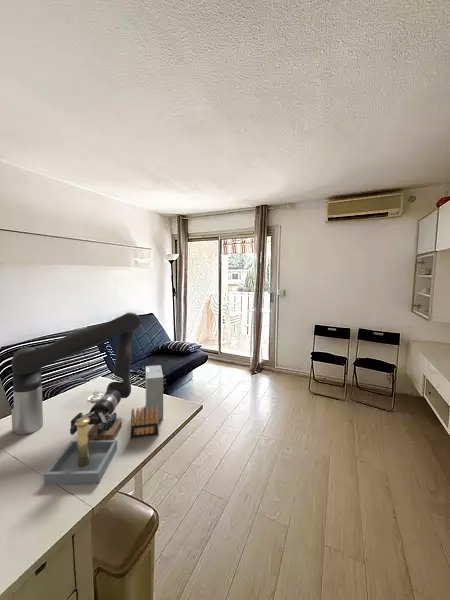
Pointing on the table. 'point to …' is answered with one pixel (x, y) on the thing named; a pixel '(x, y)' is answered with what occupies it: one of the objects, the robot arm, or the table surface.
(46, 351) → the robot arm
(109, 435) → the socket block
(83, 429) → the pin
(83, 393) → the table surface
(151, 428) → the ammunition clip
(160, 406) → the hard drive box
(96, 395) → the white rounded piece
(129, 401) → the table surface
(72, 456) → the slate tray
